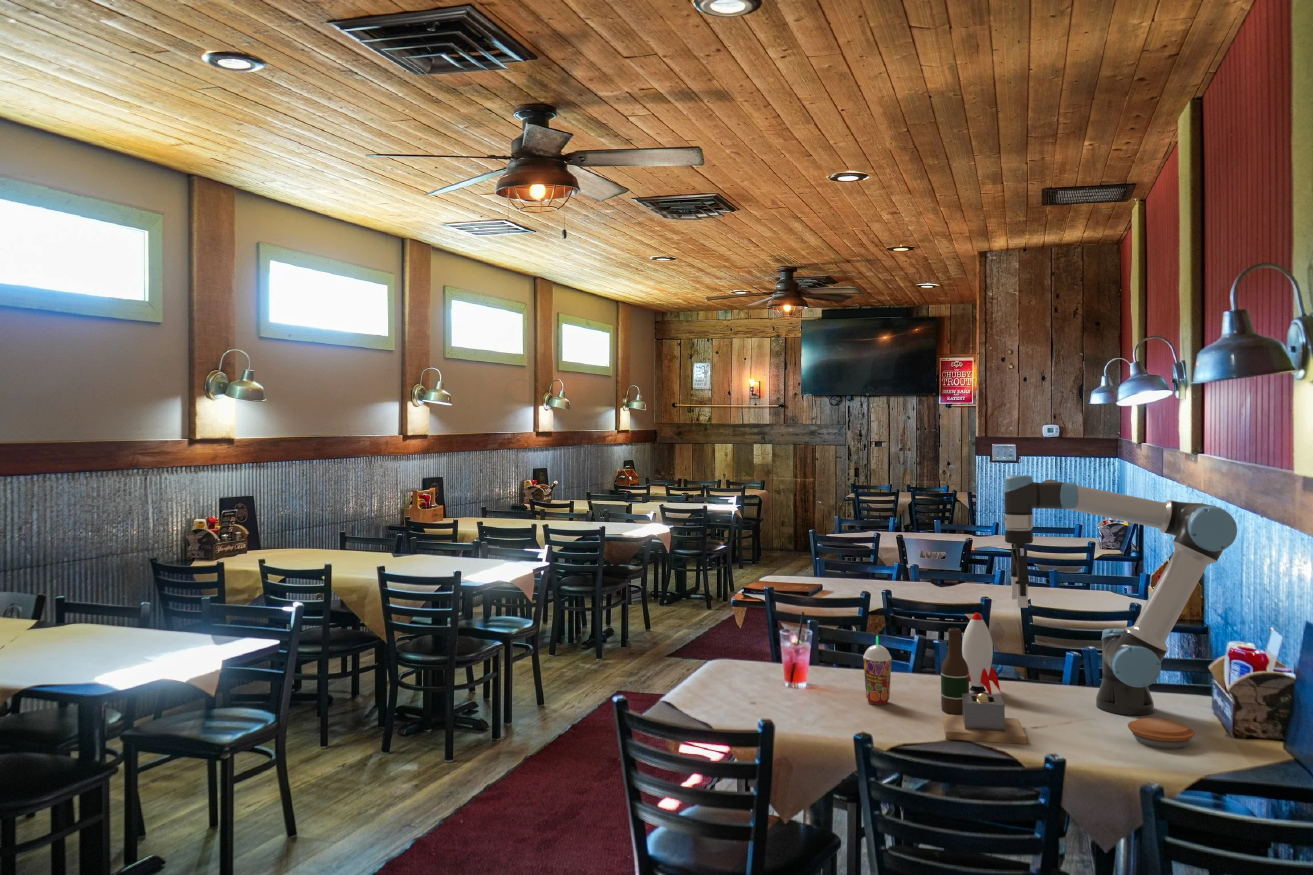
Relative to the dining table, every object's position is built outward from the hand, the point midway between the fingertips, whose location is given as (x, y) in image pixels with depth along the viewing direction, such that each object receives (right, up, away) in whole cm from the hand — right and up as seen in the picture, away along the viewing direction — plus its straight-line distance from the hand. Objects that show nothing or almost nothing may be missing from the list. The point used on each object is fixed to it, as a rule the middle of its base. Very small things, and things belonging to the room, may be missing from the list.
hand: (1019, 603), depth 276 cm
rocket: (-4, -32, +23) cm, 39 cm away
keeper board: (-16, -32, -17) cm, 39 cm away
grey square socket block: (-16, -30, -17) cm, 38 cm away
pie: (+27, -32, -26) cm, 49 cm away
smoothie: (-38, -32, +13) cm, 51 cm away
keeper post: (-16, -30, -17) cm, 38 cm away
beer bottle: (-17, -32, +3) cm, 37 cm away
